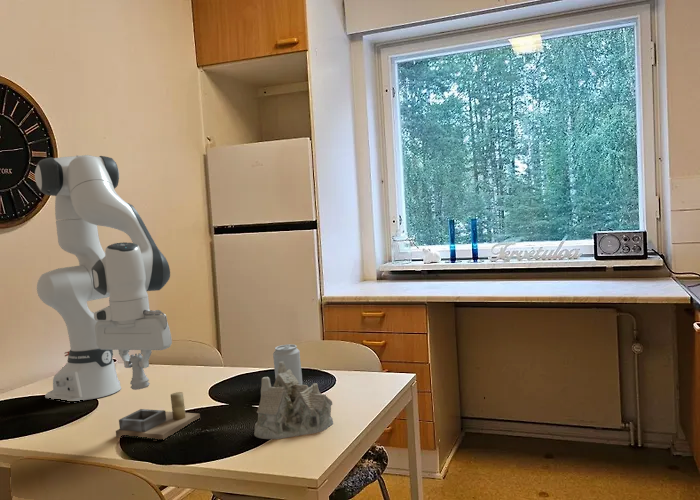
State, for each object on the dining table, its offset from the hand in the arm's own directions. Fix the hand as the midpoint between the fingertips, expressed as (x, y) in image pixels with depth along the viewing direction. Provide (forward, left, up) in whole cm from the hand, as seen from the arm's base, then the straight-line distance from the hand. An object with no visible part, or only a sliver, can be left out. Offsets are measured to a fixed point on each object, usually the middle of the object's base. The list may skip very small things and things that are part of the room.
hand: (136, 367), depth 149 cm
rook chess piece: (0, 0, -5) cm, 5 cm away
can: (+20, +37, -16) cm, 45 cm away
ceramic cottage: (+36, +8, -16) cm, 41 cm away
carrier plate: (+2, +3, -16) cm, 16 cm away
